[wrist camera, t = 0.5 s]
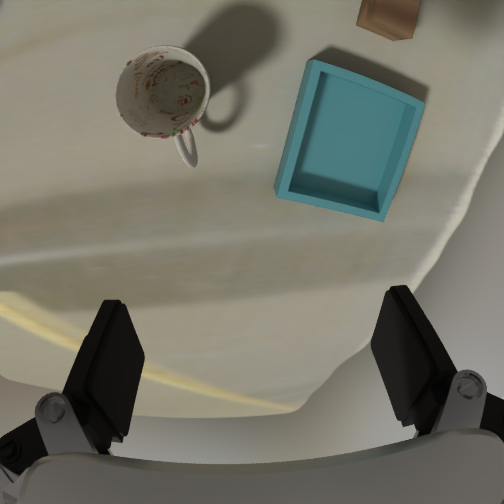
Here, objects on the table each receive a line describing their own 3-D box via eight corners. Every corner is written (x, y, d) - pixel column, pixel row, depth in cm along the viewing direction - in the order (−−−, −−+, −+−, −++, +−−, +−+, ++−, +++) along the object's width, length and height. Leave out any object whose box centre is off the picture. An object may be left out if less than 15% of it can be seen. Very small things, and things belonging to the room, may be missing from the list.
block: (363, -8, 25) (380, -17, 20) (400, 8, 25) (420, 2, 21) (355, 25, 27) (372, 19, 23) (392, 41, 28) (412, 38, 24)
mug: (206, 44, 28) (193, 31, 20) (237, 143, 35) (237, 166, 26) (137, 69, 29) (102, 69, 21) (171, 164, 36) (149, 194, 27)
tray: (306, 60, 30) (313, 59, 27) (411, 99, 32) (425, 103, 29) (273, 187, 38) (276, 197, 35) (373, 210, 40) (383, 222, 37)
